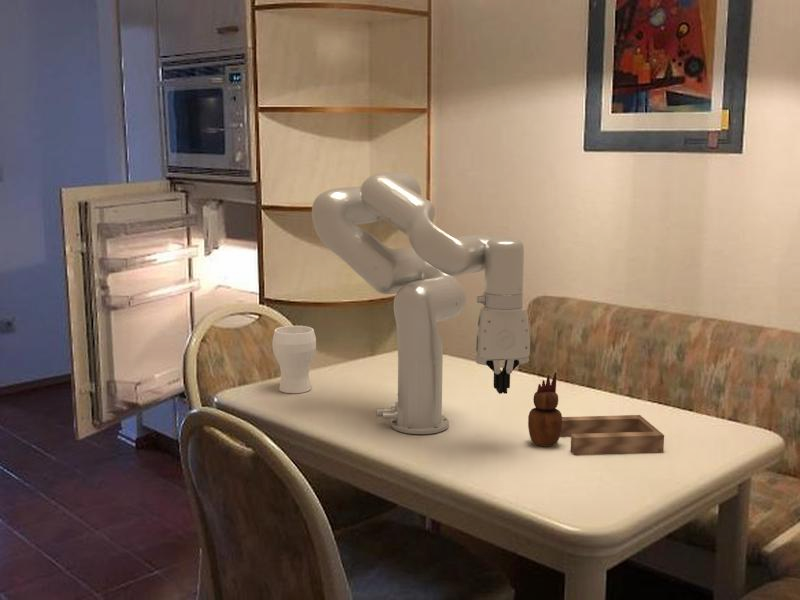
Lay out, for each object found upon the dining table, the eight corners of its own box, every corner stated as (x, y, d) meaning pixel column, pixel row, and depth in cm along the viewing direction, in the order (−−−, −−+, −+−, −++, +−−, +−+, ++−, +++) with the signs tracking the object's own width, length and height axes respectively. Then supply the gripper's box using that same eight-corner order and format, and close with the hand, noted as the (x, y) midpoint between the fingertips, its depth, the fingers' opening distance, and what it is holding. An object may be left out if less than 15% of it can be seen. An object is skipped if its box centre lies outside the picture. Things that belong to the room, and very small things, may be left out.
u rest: (574, 455, 178) (574, 437, 177) (555, 433, 191) (556, 417, 190) (663, 452, 180) (664, 435, 179) (639, 430, 193) (639, 414, 192)
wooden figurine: (561, 440, 186) (564, 369, 184) (561, 450, 181) (563, 377, 178) (528, 438, 188) (530, 368, 185) (526, 447, 182) (529, 375, 179)
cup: (325, 387, 224) (324, 328, 222) (298, 397, 216) (297, 336, 213) (292, 381, 230) (291, 323, 227) (264, 391, 221) (263, 330, 218)
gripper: (469, 305, 173) (467, 398, 176) (545, 304, 175) (542, 396, 178) (462, 298, 181) (461, 387, 184) (535, 297, 182) (533, 385, 185)
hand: (501, 391), depth 181 cm, fingers closed
